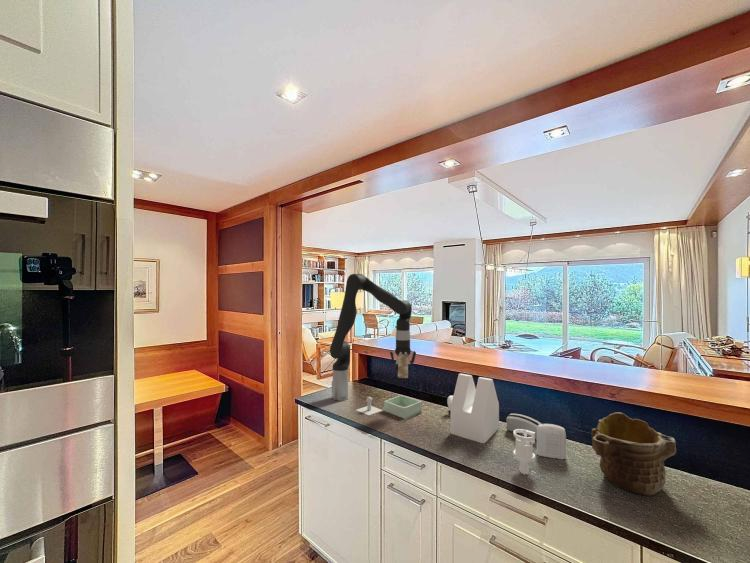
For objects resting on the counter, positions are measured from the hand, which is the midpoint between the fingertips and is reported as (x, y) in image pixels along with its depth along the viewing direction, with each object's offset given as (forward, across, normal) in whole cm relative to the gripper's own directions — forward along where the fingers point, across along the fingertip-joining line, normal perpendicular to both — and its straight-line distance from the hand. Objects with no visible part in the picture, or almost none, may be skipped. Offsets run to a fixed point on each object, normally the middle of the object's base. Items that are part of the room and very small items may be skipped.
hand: (402, 370), depth 172 cm
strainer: (+22, +40, -54) cm, 70 cm away
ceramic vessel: (+22, +72, -60) cm, 96 cm away
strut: (+3, 0, 0) cm, 3 cm away
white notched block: (+22, +32, -20) cm, 44 cm away
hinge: (+22, +53, -24) cm, 63 cm away
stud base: (+22, -18, +1) cm, 28 cm away
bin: (+22, 0, 0) cm, 22 cm away
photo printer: (+22, +55, -42) cm, 73 cm away
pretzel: (+22, +28, 0) cm, 36 cm away
